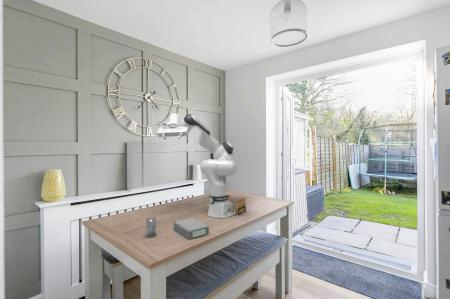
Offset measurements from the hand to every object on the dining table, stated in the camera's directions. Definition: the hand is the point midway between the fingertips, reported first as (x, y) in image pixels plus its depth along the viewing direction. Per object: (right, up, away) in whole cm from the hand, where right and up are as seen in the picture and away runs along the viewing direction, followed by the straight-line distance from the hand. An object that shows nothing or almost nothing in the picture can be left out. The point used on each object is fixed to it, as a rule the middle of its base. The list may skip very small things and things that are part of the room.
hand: (172, 138), depth 154 cm
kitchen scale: (+15, -54, -21) cm, 60 cm away
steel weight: (-5, -54, -27) cm, 61 cm away
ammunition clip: (+46, -54, +14) cm, 72 cm away
